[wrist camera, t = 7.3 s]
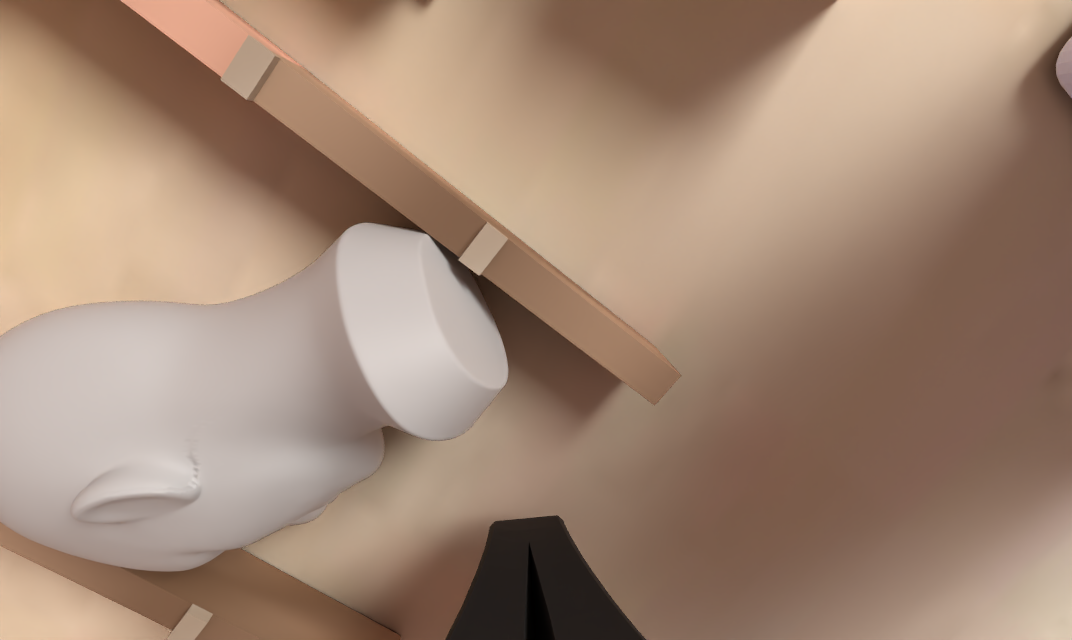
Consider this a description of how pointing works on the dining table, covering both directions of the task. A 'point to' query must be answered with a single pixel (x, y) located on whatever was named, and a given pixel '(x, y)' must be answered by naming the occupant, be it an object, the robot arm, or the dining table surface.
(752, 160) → the dining table surface
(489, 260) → the lane
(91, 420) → the smooth white sculpture
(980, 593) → the dining table surface
